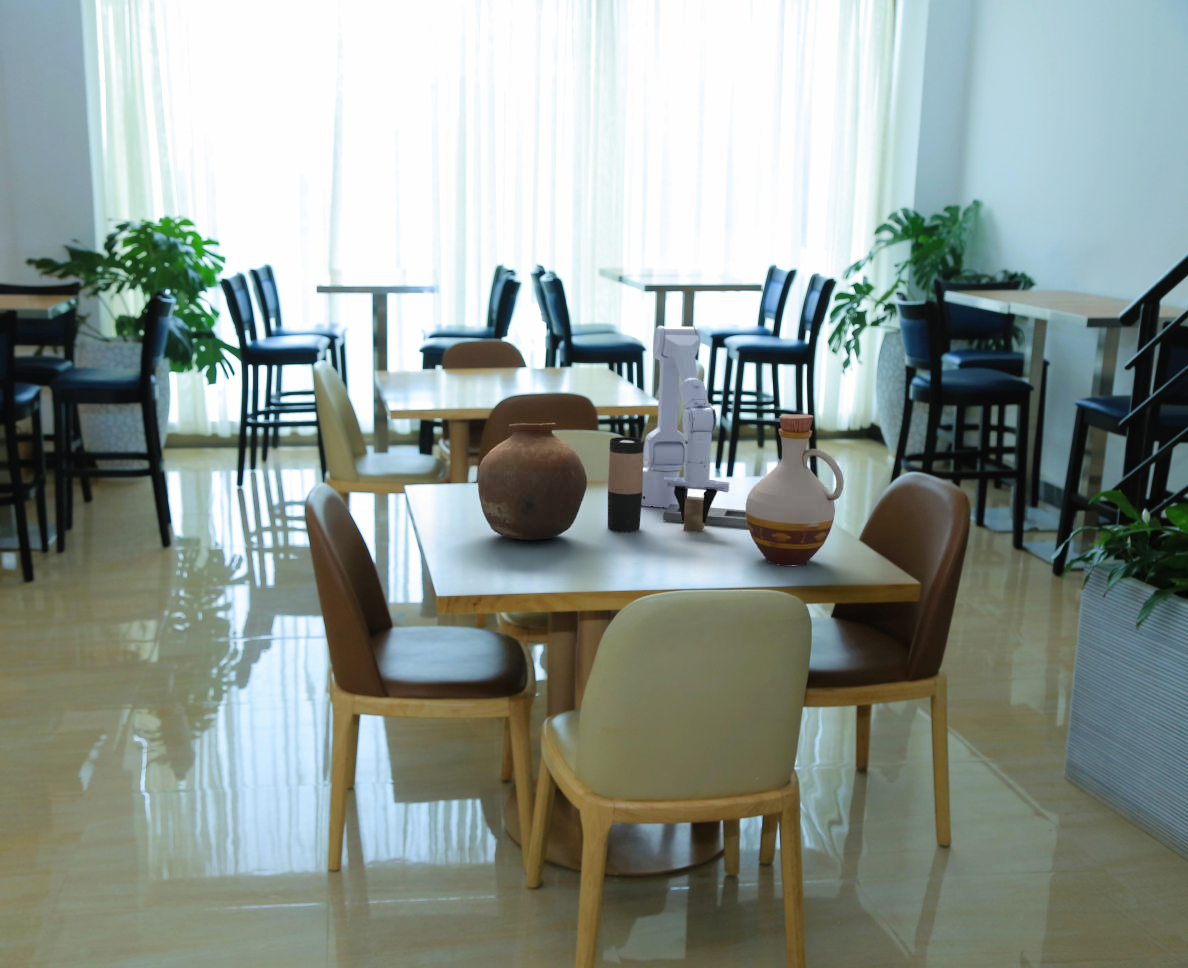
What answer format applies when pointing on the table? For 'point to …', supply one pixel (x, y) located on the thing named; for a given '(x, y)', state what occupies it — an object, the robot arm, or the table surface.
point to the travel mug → (625, 484)
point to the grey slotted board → (711, 516)
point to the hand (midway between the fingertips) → (694, 520)
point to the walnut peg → (694, 514)
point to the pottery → (531, 484)
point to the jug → (793, 500)
